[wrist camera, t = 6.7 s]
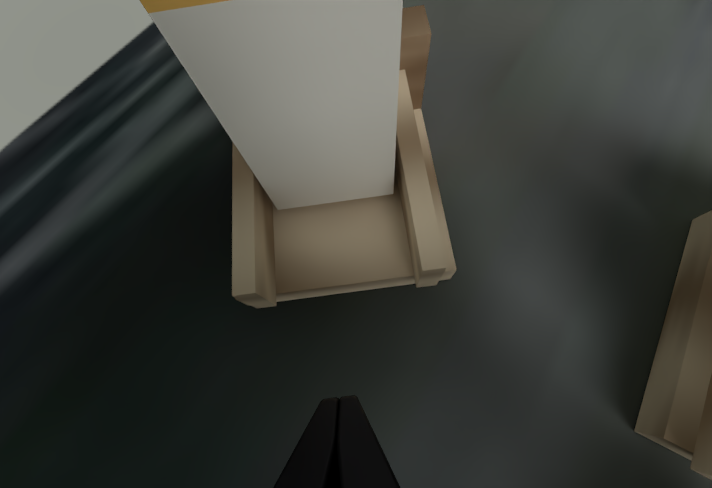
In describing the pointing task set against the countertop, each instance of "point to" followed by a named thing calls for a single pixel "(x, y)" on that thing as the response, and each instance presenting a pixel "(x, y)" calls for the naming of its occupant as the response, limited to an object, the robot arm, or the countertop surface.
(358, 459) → the robot arm
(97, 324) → the countertop surface
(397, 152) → the guide
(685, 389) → the guide
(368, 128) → the button
